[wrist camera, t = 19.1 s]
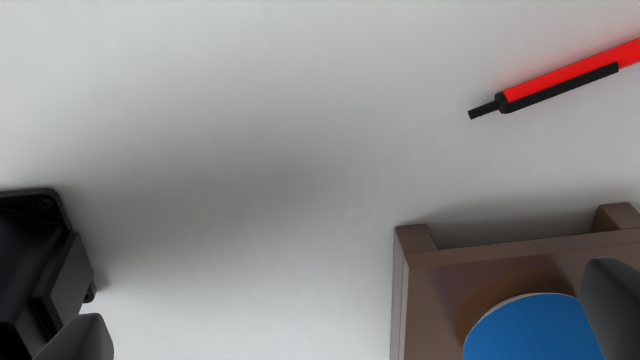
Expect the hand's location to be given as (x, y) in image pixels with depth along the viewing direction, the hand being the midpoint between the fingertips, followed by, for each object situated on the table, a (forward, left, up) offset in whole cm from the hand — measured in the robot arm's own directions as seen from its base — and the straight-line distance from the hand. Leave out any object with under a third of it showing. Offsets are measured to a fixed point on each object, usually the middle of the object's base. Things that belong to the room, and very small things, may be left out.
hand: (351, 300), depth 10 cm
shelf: (+10, -14, -13) cm, 22 cm away
